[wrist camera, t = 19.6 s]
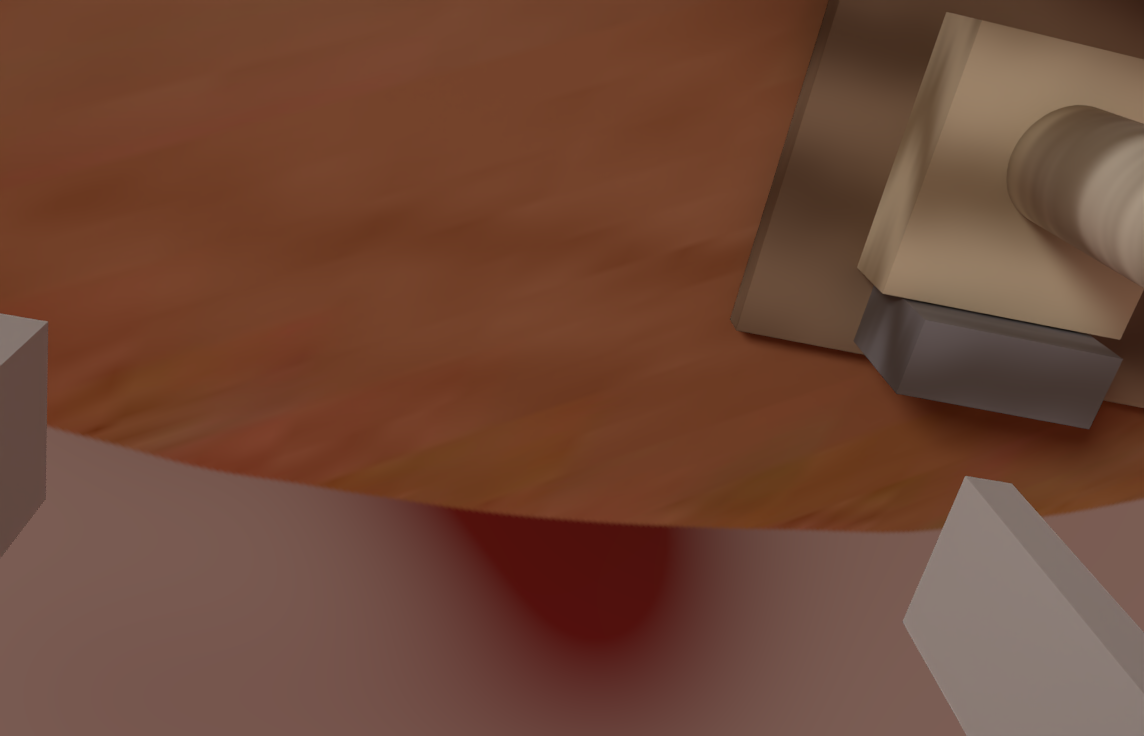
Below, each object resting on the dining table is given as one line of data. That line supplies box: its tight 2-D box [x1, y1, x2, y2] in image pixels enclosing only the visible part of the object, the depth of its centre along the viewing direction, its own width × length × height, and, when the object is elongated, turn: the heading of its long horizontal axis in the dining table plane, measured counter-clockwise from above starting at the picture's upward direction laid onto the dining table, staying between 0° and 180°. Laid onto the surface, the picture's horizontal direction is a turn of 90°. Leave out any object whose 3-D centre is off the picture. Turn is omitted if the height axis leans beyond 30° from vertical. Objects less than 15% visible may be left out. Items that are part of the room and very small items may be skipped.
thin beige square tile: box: [857, 12, 1144, 340], centre depth 38 cm, size 10×10×3 cm
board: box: [730, 0, 1144, 429], centre depth 37 cm, size 22×22×6 cm
